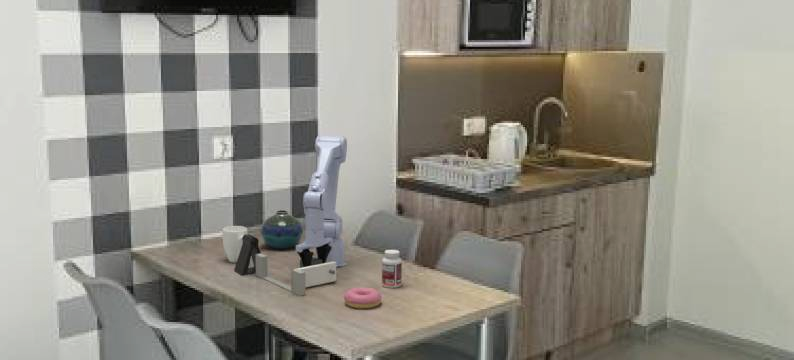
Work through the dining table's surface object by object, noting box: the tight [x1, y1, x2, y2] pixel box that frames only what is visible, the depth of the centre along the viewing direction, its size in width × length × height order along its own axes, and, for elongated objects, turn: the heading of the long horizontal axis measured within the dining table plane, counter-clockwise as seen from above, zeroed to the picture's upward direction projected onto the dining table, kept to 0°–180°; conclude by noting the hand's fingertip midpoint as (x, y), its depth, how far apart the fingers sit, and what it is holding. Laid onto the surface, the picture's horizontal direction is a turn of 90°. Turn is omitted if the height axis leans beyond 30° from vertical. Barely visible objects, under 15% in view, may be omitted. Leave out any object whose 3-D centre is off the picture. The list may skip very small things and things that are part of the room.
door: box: [294, 262, 337, 288], centre depth 250 cm, size 3×15×6 cm, turn 130°
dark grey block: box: [299, 257, 322, 268], centre depth 258 cm, size 5×8×6 cm, turn 50°
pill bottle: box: [381, 249, 403, 289], centre depth 253 cm, size 6×6×11 cm
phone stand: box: [234, 233, 262, 276], centre depth 264 cm, size 9×6×12 cm, turn 125°
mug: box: [222, 225, 248, 264], centre depth 275 cm, size 12×8×11 cm
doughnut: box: [343, 286, 382, 309], centre depth 235 cm, size 11×11×4 cm
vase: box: [260, 210, 304, 250], centre depth 296 cm, size 15×15×13 cm
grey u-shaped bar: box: [255, 253, 306, 297], centre depth 251 cm, size 2×26×7 cm, turn 40°
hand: (314, 269), depth 258 cm, fingers open, 6 cm apart
